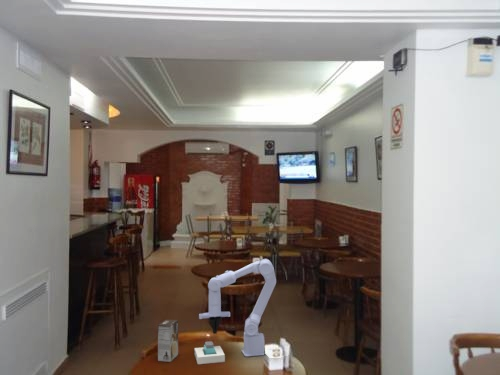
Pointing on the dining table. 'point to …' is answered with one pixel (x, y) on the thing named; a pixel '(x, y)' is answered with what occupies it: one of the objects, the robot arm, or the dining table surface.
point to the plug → (209, 348)
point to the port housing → (209, 356)
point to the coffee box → (167, 340)
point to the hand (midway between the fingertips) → (214, 333)
